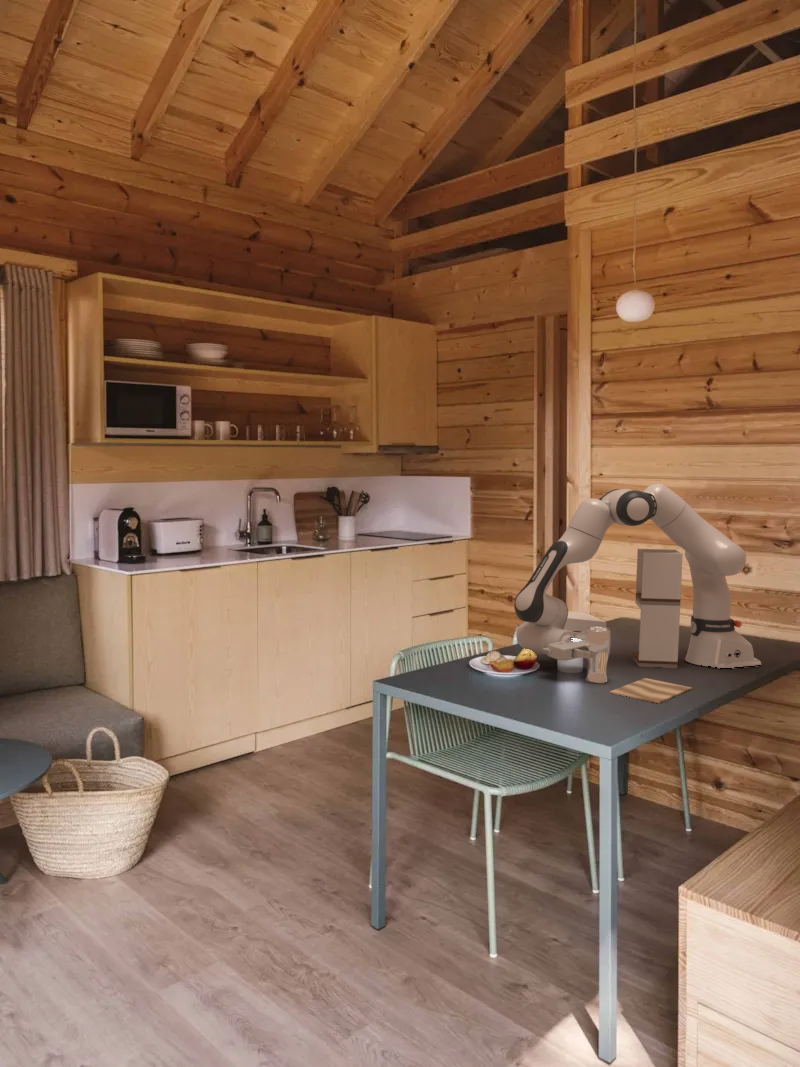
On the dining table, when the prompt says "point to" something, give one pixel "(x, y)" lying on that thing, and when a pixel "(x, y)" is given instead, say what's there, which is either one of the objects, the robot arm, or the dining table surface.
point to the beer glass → (597, 653)
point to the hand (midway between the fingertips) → (599, 653)
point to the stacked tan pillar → (658, 606)
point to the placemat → (651, 690)
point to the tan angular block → (582, 621)
